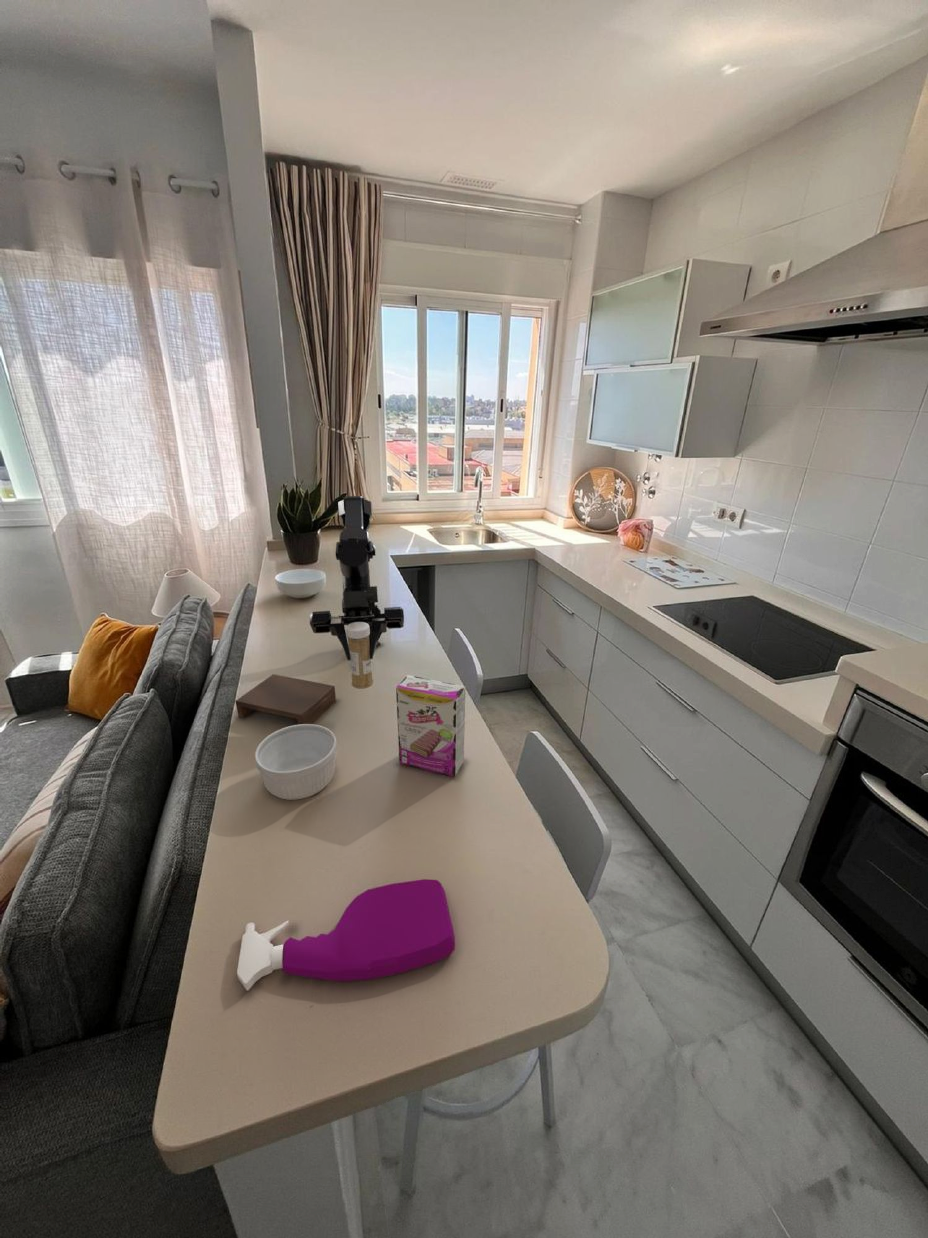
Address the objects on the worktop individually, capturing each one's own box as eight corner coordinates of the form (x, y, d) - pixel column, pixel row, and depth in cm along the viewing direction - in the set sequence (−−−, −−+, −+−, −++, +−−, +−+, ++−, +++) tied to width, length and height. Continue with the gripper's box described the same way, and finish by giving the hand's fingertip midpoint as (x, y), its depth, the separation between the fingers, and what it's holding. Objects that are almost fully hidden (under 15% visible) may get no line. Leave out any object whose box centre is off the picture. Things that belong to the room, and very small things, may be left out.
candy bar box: (398, 765, 90) (393, 687, 83) (409, 749, 94) (406, 673, 88) (455, 779, 86) (456, 699, 80) (465, 762, 91) (466, 684, 84)
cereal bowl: (319, 603, 165) (317, 583, 162) (269, 602, 165) (266, 582, 162) (332, 587, 181) (330, 568, 178) (287, 586, 181) (284, 567, 178)
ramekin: (296, 818, 78) (291, 783, 75) (243, 787, 84) (236, 753, 82) (355, 771, 88) (352, 738, 86) (304, 746, 95) (300, 715, 92)
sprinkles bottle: (375, 687, 102) (371, 628, 97) (353, 691, 101) (348, 631, 95) (370, 677, 106) (366, 619, 101) (349, 681, 104) (343, 622, 99)
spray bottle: (458, 965, 57) (232, 1020, 52) (441, 884, 67) (249, 923, 62) (458, 948, 56) (227, 1002, 51) (440, 868, 66) (245, 907, 61)
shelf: (275, 689, 114) (273, 674, 112) (336, 701, 109) (334, 685, 108) (238, 717, 103) (235, 700, 102) (303, 732, 99) (301, 715, 97)
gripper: (305, 574, 96) (305, 650, 90) (401, 569, 99) (407, 643, 94) (313, 597, 106) (314, 667, 101) (400, 593, 109) (406, 660, 104)
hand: (360, 659), depth 99 cm, fingers closed on sprinkles bottle, 4 cm apart
